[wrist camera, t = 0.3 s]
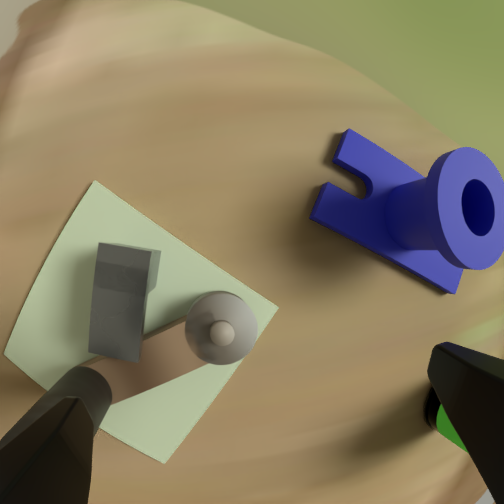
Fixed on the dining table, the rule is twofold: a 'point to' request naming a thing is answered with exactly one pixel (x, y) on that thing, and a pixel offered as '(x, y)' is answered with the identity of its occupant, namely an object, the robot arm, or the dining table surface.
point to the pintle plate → (157, 314)
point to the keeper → (121, 299)
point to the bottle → (440, 419)
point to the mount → (419, 210)
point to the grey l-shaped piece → (156, 358)
